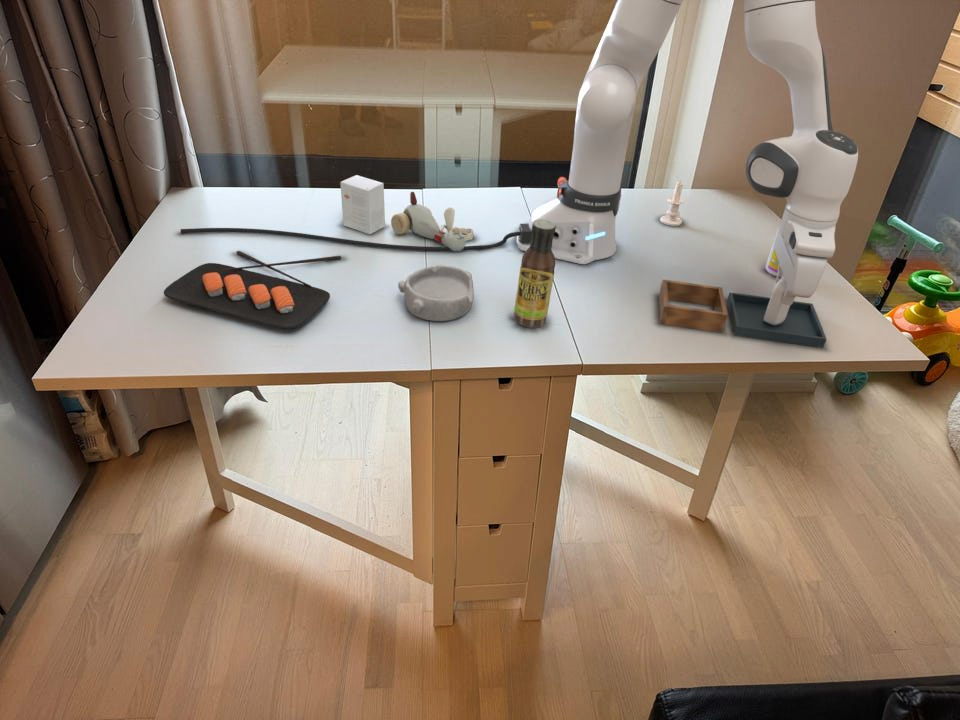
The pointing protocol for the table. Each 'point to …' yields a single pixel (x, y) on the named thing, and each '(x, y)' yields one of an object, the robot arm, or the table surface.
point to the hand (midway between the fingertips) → (783, 294)
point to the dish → (438, 292)
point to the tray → (794, 329)
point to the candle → (673, 208)
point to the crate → (692, 315)
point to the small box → (363, 204)
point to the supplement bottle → (772, 260)
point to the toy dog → (430, 225)
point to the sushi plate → (251, 293)
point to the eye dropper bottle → (777, 304)
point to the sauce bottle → (536, 276)
